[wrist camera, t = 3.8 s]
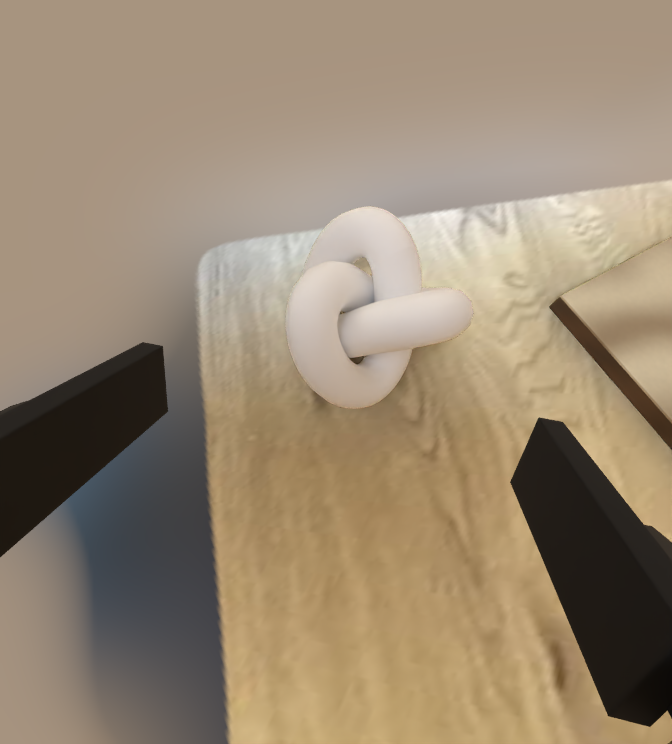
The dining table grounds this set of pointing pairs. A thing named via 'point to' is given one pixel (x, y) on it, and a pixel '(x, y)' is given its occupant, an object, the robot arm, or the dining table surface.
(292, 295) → the white knot sculpture
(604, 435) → the dining table surface
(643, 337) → the board
